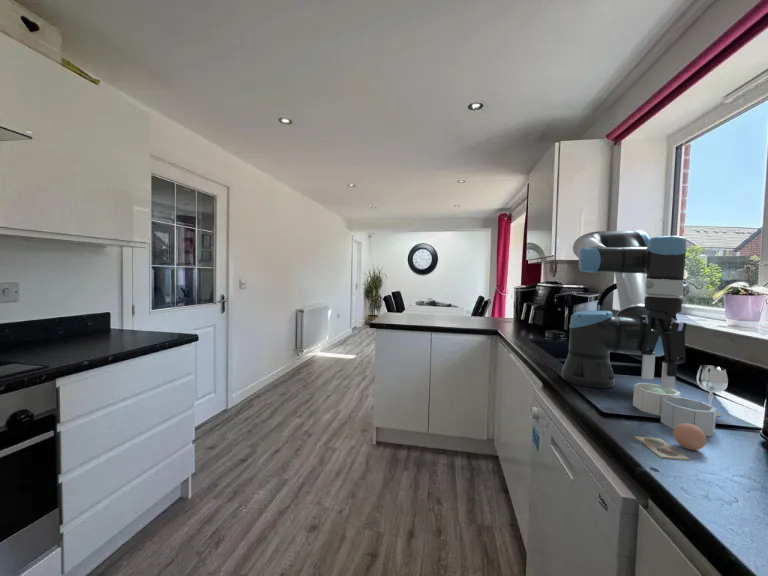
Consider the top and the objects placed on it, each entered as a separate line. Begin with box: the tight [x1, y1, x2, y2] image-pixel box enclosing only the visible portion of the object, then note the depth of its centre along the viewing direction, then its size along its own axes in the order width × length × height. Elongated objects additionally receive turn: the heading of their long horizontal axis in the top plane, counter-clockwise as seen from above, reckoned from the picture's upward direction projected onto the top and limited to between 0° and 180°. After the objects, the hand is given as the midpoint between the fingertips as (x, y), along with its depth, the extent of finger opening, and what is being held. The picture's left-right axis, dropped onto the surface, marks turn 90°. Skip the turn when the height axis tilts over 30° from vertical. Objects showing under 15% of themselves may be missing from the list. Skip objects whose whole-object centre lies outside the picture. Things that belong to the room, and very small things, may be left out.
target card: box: [634, 435, 690, 461], centre depth 69 cm, size 8×5×1 cm, turn 174°
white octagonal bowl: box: [632, 382, 681, 417], centre depth 89 cm, size 9×9×6 cm
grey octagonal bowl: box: [660, 396, 717, 437], centre depth 79 cm, size 9×9×6 cm
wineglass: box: [696, 364, 729, 418], centre depth 87 cm, size 6×6×12 cm
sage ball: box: [647, 388, 666, 394], centre depth 89 cm, size 5×5×5 cm
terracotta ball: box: [673, 423, 707, 451], centre depth 69 cm, size 5×5×5 cm
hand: (657, 383), depth 89 cm, fingers open, 7 cm apart
